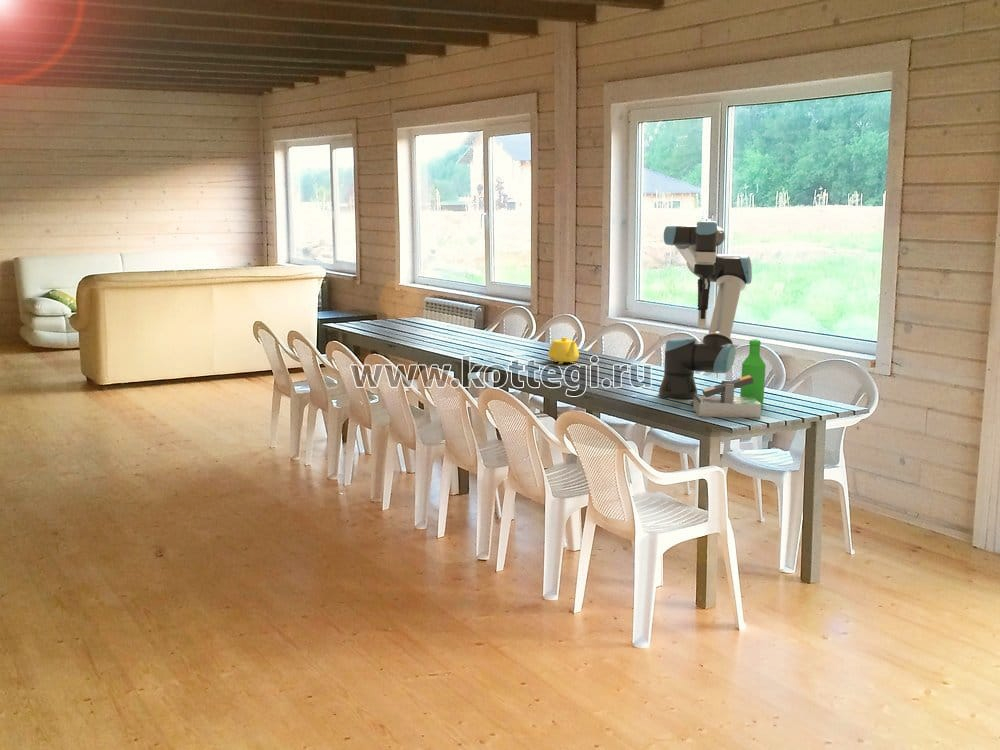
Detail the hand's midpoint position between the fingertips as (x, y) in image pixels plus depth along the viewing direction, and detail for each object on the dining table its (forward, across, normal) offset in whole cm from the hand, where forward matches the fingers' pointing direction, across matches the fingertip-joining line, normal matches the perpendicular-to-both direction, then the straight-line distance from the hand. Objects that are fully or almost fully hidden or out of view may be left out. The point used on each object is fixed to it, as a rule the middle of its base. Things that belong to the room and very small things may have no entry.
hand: (701, 327), depth 375 cm
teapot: (+31, -102, -47) cm, 116 cm away
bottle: (+31, -9, +22) cm, 39 cm away
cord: (+30, -4, +6) cm, 31 cm away
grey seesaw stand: (+30, +9, +9) cm, 33 cm away
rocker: (+20, +9, +9) cm, 24 cm away
